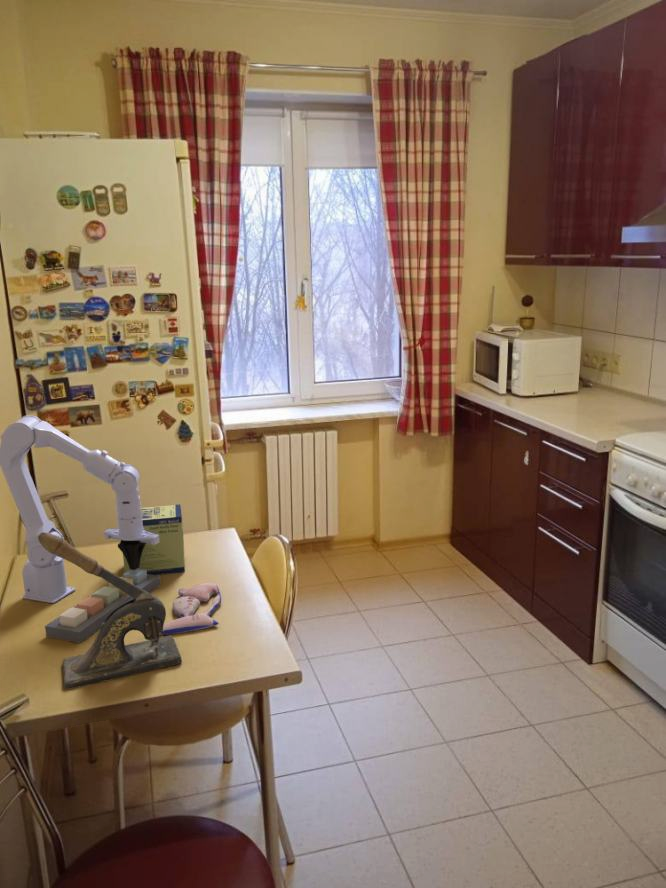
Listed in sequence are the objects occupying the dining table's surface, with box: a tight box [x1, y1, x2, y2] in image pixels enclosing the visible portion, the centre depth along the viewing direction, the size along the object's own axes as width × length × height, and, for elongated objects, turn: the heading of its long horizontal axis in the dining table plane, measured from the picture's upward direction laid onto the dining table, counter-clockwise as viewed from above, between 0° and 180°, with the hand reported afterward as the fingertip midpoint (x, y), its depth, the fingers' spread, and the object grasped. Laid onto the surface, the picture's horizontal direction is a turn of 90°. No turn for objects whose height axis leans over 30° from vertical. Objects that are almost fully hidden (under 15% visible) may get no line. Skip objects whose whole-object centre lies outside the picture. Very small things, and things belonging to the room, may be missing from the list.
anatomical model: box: [163, 582, 222, 636], centre depth 161 cm, size 20×3×15 cm
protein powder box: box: [122, 504, 186, 576], centre depth 184 cm, size 10×16×16 cm
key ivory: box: [58, 606, 88, 628], centre depth 152 cm, size 4×4×3 cm
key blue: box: [122, 569, 147, 585], centre depth 173 cm, size 4×4×3 cm
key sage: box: [92, 586, 119, 605], centre depth 162 cm, size 4×4×3 cm
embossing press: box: [38, 533, 183, 690], centre depth 136 cm, size 11×24×30 cm, turn 109°
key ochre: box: [108, 576, 133, 595], centre depth 168 cm, size 4×4×3 cm
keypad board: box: [44, 574, 161, 644], centre depth 163 cm, size 9×30×2 cm, turn 160°
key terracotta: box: [76, 596, 104, 616], centre depth 157 cm, size 4×4×3 cm
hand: (134, 568), depth 172 cm, fingers closed
